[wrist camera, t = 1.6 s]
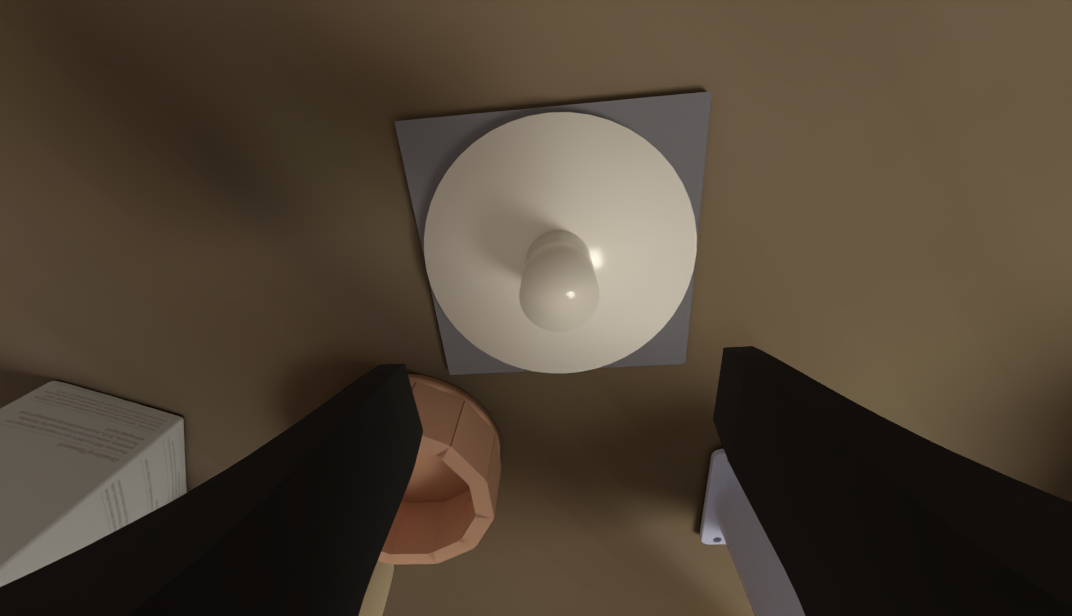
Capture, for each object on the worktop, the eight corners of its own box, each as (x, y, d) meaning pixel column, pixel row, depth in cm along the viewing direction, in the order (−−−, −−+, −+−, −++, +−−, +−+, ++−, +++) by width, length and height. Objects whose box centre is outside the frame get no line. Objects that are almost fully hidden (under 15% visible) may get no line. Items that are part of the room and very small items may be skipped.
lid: (705, 98, 15) (757, 92, 11) (681, 360, 20) (711, 419, 16) (400, 126, 16) (351, 131, 12) (452, 371, 21) (430, 429, 17)
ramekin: (488, 368, 21) (475, 422, 17) (510, 499, 25) (502, 562, 22) (306, 377, 22) (258, 430, 18) (358, 502, 26) (327, 565, 22)
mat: (708, 91, 15) (712, 90, 15) (683, 359, 20) (685, 363, 20) (397, 121, 16) (394, 121, 15) (451, 370, 21) (449, 375, 21)
